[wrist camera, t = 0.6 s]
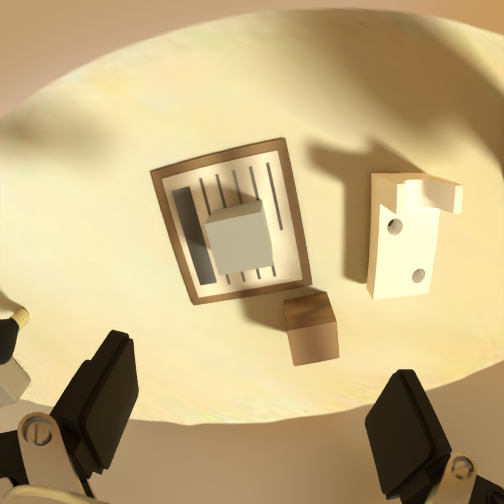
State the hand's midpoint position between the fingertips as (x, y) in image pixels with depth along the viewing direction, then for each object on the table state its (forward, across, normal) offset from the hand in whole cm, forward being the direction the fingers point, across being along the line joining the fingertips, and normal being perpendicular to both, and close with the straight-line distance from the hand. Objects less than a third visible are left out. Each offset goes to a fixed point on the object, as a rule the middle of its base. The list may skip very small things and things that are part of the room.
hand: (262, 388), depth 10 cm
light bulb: (+24, +36, +22) cm, 48 cm away
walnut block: (+23, -7, +11) cm, 26 cm away
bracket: (+23, -15, -1) cm, 28 cm away
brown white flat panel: (+23, +3, +2) cm, 23 cm away
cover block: (+22, +2, +2) cm, 23 cm away
